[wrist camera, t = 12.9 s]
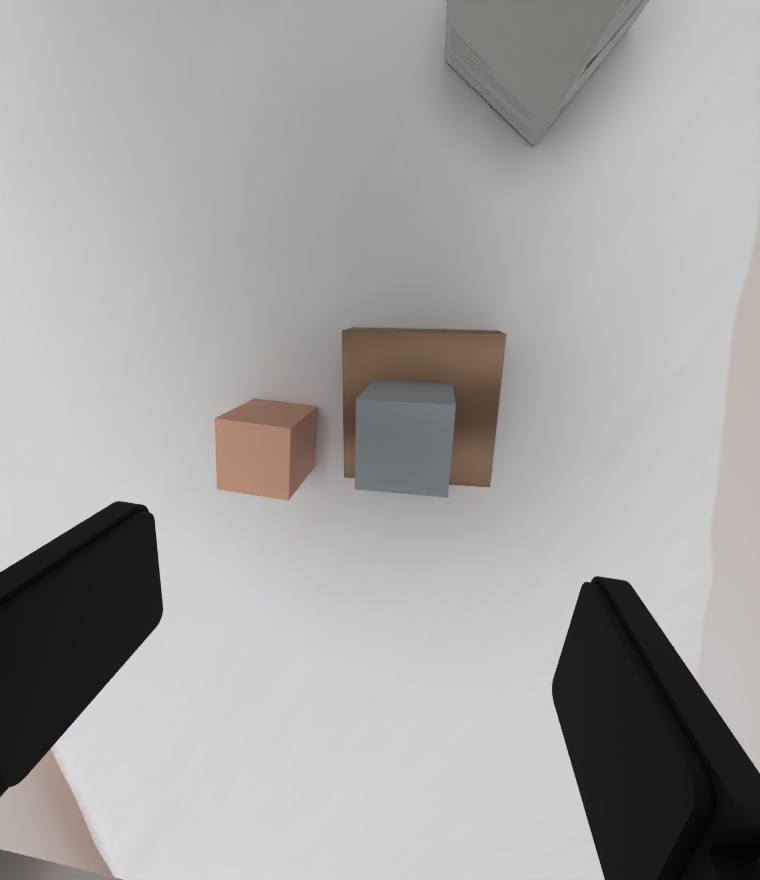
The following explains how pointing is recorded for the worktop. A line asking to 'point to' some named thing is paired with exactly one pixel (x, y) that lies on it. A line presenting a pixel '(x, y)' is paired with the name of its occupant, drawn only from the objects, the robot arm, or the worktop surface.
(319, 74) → the worktop surface
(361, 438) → the grey block
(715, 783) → the robot arm
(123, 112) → the worktop surface
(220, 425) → the terracotta block
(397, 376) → the walnut base
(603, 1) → the supplement box
